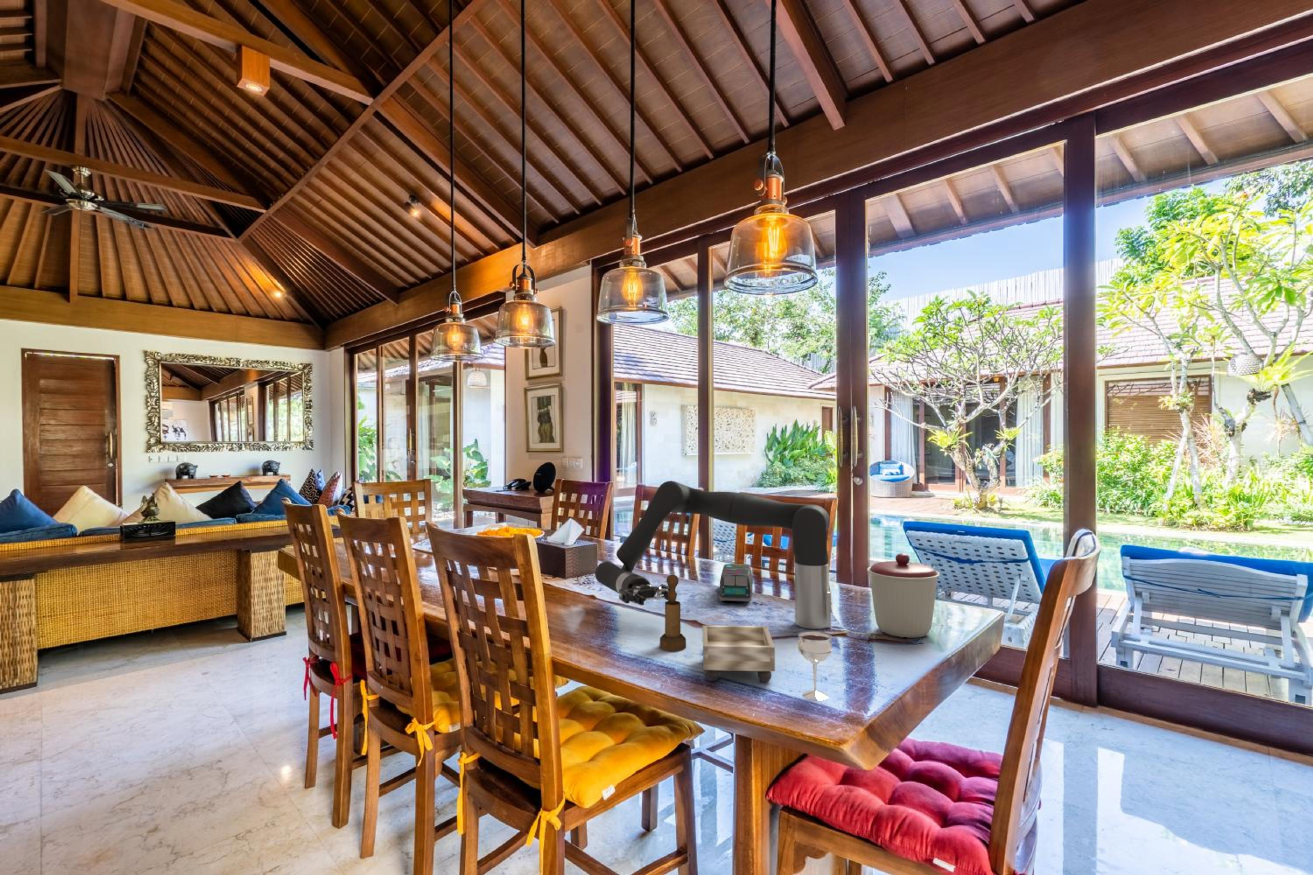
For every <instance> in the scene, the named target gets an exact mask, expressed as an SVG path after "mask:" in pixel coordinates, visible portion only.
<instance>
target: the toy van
mask: <svg viewBox="0 0 1313 875" xmlns="http://www.w3.org/2000/svg"><path fill="white" fill-rule="evenodd" d="M753 584H754V578H753V572H752V568H751V565H749V564H745V563H726V564H724V565H723V568H722V571H721V574H720V580H719V590H718V593H719V595H718V596H719V598H718V599H719V600H720V602H721V601H731V602H733V601H734V602H746V603H747V602H750V601H751V602H752V597H753V589H754V588H753V587H754V586H753Z"/></svg>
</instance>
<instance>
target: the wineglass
mask: <svg viewBox="0 0 1313 875" xmlns="http://www.w3.org/2000/svg"><path fill="white" fill-rule="evenodd" d="M797 636H798V638H799V639H798V642H797V648H798V652H799V654H800V655H801V656H802V657H803V658H804V659H805V660H808V661H809V662H810V663H811V664H812V669H813V671H812V672H813V686H814V687H813V689H812V690H805V691H804V692H803V693H802V696H803V697H804V698H805V699H808V700H811V701H824V700H826V699H829V695H828V694H827V693H826V692H824V691H820V690H817V681H818V680H817V678H818V677H817V674H818V672H817V671H818V665H819V664H820V663H821V662H824V661H826V660H827V658H829V657H830V656H831V655H832V654H831V653H832V651H833V644H832V642H831V640H832V638H833V637H832V635H831V634H830V633H828V632H825V631H820V630H804V631H803V630H802V631H799V632H798V633H797Z"/></svg>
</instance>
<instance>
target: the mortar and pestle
mask: <svg viewBox="0 0 1313 875" xmlns="http://www.w3.org/2000/svg"><path fill="white" fill-rule="evenodd" d="M678 583H679V577H678V576H677V575H676V574H669V575H668V576H667V577H666V585H667V586H669V588H670V591H669V593H668V597H669V600H670V601H668V600H666V601H665V602H664V633H663V634H662V635H661V636H660V638H659V648H660V649H661V650H663V651H667V652H679V651H683V650H685V649H687V639H686V637H685V635H683V633H681V631H682V630H681V601H678V600H677V598H678V592H676V589H677V586H678V585H679V584H678Z"/></svg>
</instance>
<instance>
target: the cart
mask: <svg viewBox="0 0 1313 875" xmlns="http://www.w3.org/2000/svg"><path fill="white" fill-rule="evenodd" d="M775 648H776V647H775V644H774V642H773V639H772V635H771V634H770V631H769V628H768V626H763V625H762V626H761V625H758V626H757V625H702V669H703V671H705V677H706V679H707V680H708V681H710V682H716V681H717V680H718V679H719V678H720V671H737V672H738V671H739V672H740V671H741V672H742V671H743V672H744V671H745V672H748V671H749V672H756V674H757V675H756V676H757V679H758V680H759V681H760V682H761V683H768V682H769V681H770V680H772V672H776V666H775V665H776V663H775V662H776V661H775V659H776V658H775V657H776V655H775V654H776V652H775V651H776V650H775Z"/></svg>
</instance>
